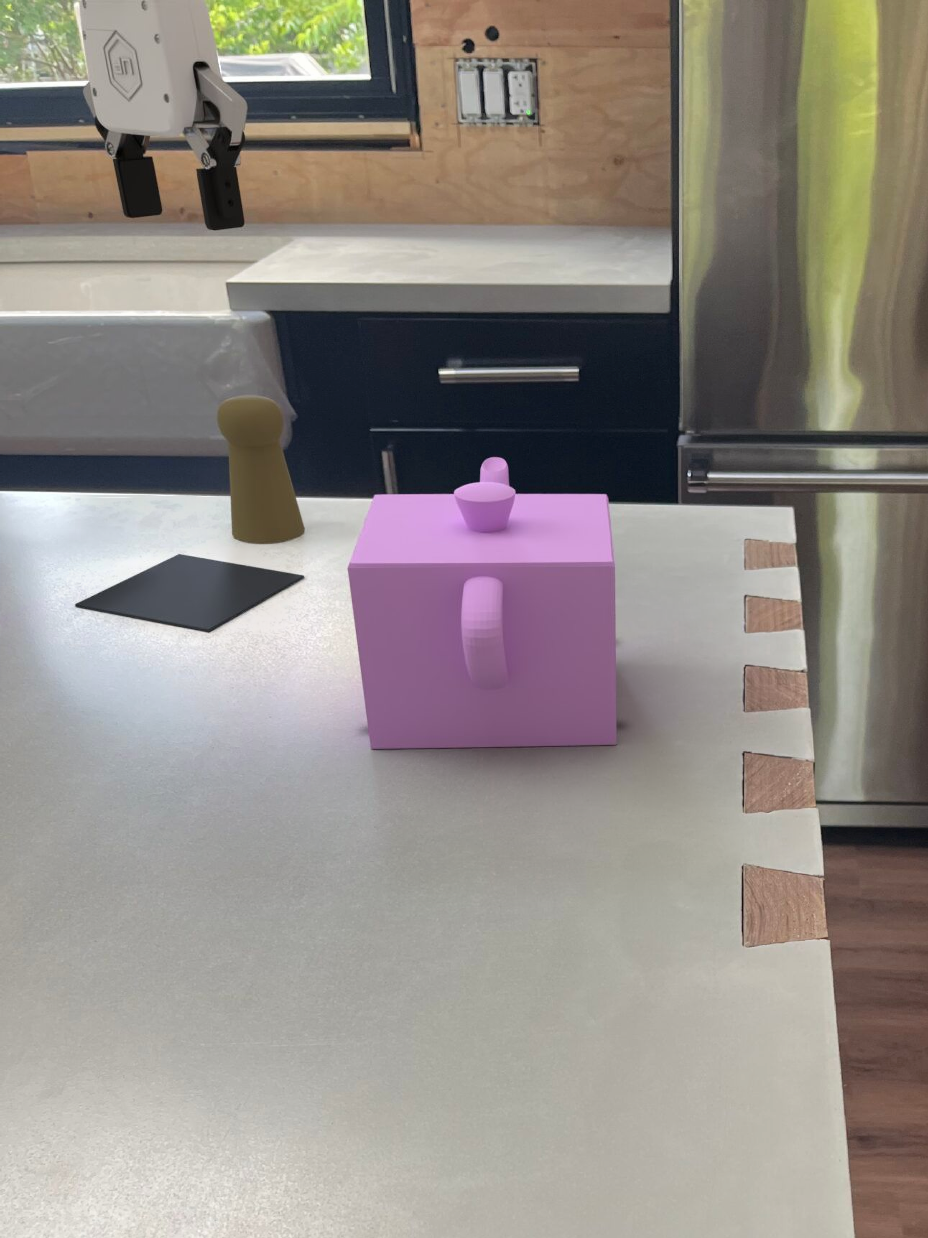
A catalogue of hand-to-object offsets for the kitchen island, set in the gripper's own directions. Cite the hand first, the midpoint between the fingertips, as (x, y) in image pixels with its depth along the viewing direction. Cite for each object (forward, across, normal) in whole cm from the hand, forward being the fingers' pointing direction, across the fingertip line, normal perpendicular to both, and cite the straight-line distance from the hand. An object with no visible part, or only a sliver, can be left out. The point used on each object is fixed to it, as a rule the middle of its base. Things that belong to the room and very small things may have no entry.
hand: (184, 222), depth 101 cm
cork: (+24, +4, 0) cm, 24 cm away
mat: (+24, +10, -12) cm, 28 cm away
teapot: (+24, +41, -12) cm, 49 cm away
